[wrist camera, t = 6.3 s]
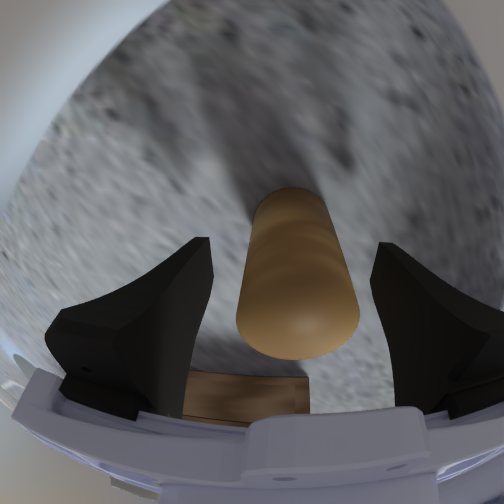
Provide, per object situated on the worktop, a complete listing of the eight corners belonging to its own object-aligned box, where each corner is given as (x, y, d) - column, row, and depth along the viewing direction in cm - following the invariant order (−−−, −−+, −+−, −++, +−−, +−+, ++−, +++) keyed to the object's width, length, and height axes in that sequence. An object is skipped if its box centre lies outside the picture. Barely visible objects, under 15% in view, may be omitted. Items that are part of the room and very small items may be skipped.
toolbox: (308, 377, 22) (310, 423, 18) (295, 423, 28) (295, 457, 24) (163, 366, 23) (149, 407, 19) (186, 415, 29) (179, 446, 25)
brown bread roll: (335, 191, 13) (375, 278, 8) (323, 258, 16) (342, 360, 10) (255, 184, 14) (235, 268, 8) (252, 253, 16) (236, 355, 10)
